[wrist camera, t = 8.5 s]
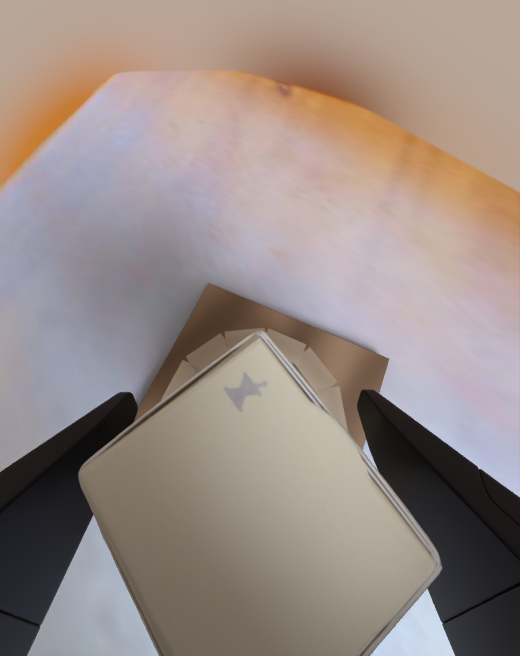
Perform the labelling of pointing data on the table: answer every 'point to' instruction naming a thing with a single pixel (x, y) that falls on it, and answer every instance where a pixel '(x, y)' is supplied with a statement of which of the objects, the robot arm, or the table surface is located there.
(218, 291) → the ring socket
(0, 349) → the table surface
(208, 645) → the box
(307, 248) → the table surface
